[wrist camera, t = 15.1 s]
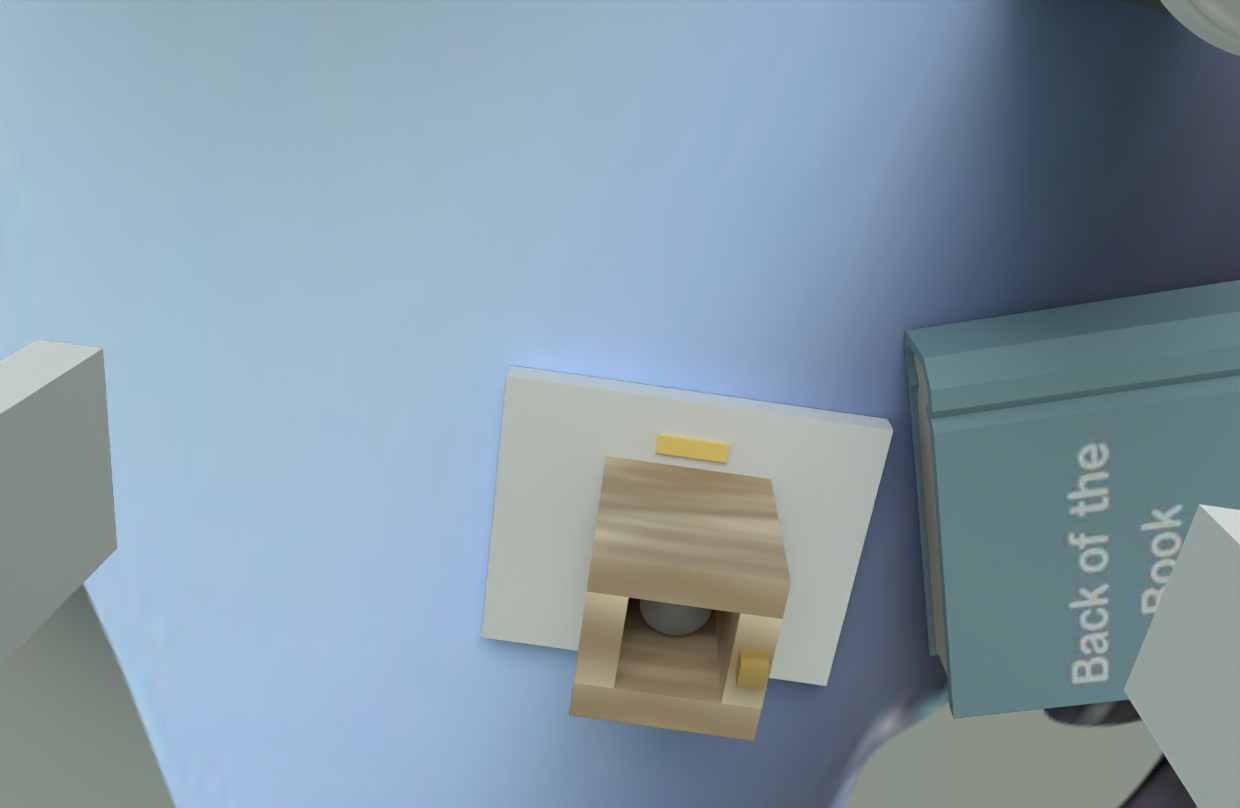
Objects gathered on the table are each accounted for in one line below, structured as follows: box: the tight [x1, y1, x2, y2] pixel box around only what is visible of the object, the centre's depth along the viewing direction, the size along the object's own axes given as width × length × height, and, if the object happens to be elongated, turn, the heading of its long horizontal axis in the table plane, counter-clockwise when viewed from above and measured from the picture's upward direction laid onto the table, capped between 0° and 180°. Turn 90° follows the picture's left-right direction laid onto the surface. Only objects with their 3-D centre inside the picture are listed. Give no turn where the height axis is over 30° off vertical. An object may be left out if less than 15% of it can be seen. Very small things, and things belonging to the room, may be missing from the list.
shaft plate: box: [481, 366, 893, 686], centre depth 42 cm, size 16×13×6 cm
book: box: [904, 280, 1240, 718], centre depth 41 cm, size 23×16×5 cm
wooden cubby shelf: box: [569, 456, 791, 741], centre depth 40 cm, size 7×7×9 cm
